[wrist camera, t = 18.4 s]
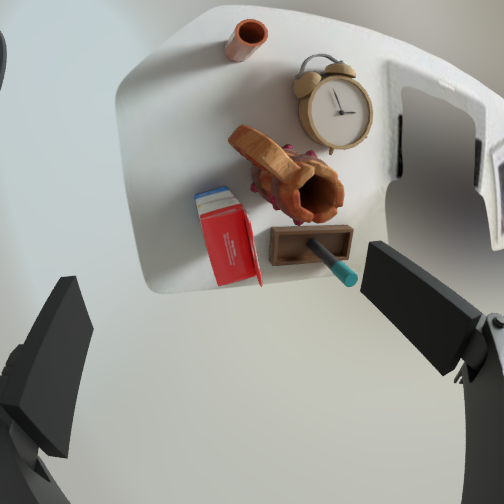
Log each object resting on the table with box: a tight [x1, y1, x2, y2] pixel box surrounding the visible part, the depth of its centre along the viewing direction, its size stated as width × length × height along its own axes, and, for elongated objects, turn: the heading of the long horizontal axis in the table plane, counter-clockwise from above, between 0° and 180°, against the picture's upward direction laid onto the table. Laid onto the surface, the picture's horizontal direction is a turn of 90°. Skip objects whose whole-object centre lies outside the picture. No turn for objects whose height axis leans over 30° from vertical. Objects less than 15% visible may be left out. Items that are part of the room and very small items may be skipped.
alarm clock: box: [293, 54, 373, 155], centre depth 36 cm, size 11×5×15 cm
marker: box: [307, 239, 358, 287], centre depth 41 cm, size 2×2×13 cm
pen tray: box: [269, 225, 354, 266], centre depth 46 cm, size 14×6×2 cm, turn 88°
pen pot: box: [225, 19, 268, 62], centre depth 29 cm, size 4×4×8 cm
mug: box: [228, 125, 344, 226], centre depth 33 cm, size 15×8×15 cm, turn 50°
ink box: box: [194, 187, 263, 287], centre depth 35 cm, size 8×5×15 cm, turn 11°
